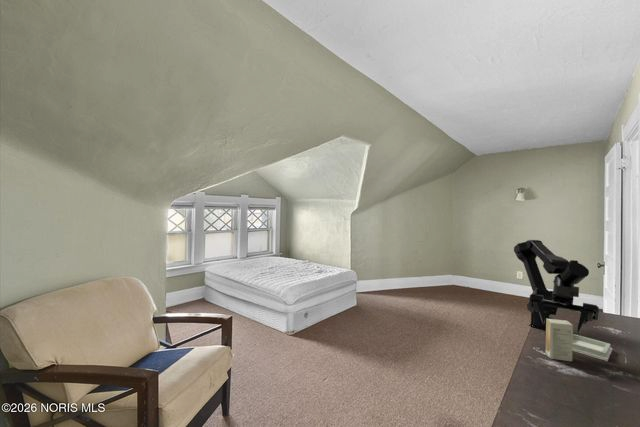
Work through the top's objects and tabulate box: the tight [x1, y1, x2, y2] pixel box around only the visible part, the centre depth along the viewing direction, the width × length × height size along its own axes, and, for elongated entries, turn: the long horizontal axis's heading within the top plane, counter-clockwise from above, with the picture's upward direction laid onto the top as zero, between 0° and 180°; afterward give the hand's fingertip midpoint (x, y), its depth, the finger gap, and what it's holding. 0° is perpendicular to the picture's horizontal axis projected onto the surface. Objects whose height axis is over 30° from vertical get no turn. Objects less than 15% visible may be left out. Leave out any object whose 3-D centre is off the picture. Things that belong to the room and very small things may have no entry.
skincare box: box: [545, 318, 574, 362], centre depth 99 cm, size 6×4×12 cm
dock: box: [572, 333, 613, 362], centre depth 106 cm, size 12×12×2 cm
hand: (560, 327), depth 101 cm, fingers open, 9 cm apart
